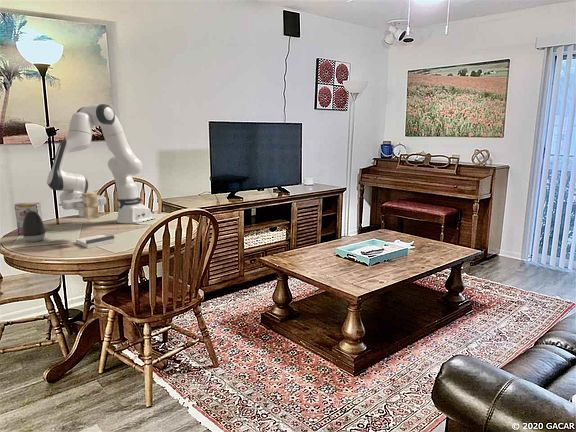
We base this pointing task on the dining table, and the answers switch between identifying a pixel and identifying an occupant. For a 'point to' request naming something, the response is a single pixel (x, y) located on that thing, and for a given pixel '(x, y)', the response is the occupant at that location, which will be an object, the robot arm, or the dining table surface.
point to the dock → (95, 241)
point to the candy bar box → (25, 207)
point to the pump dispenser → (33, 227)
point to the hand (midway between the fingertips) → (91, 204)
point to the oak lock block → (90, 205)
